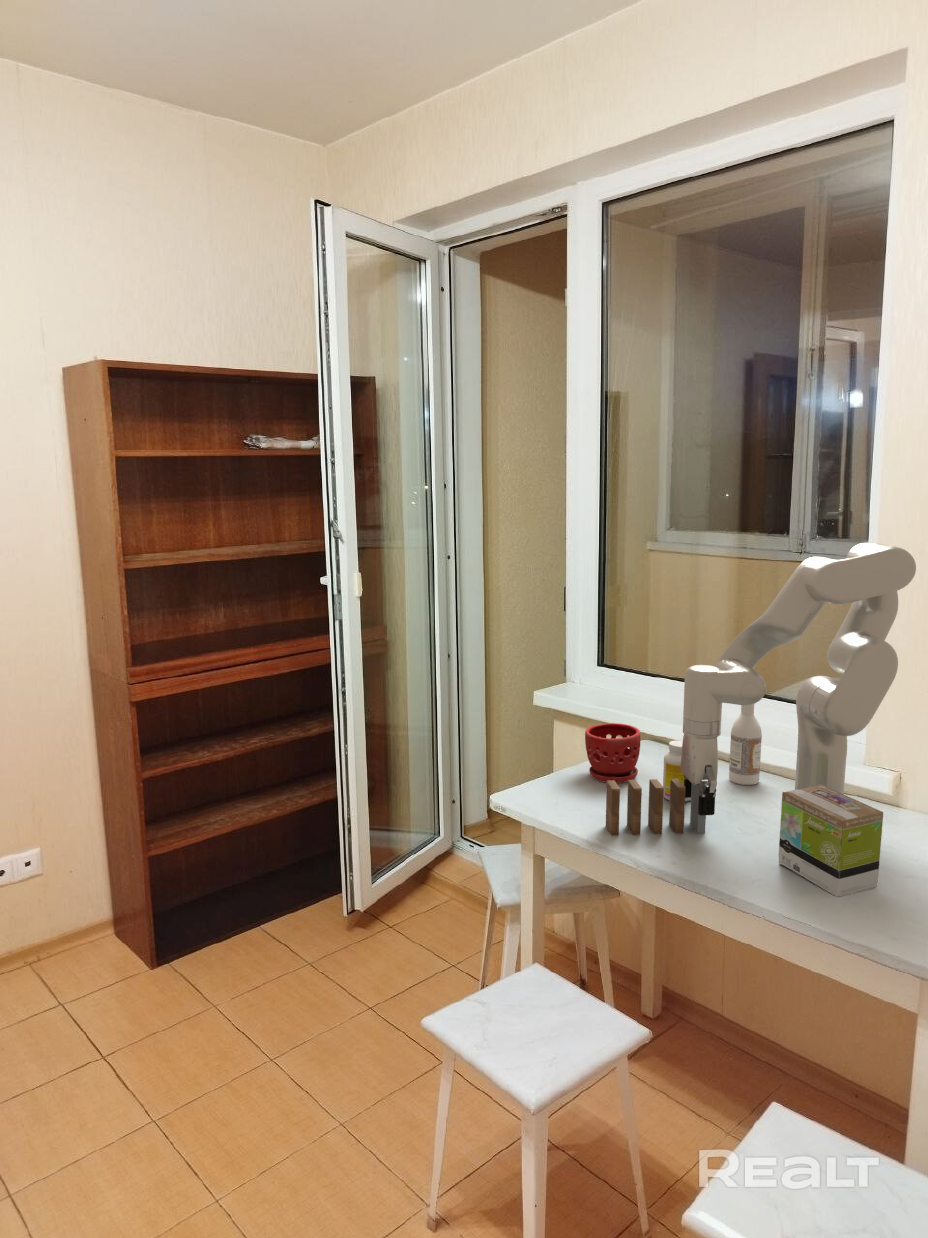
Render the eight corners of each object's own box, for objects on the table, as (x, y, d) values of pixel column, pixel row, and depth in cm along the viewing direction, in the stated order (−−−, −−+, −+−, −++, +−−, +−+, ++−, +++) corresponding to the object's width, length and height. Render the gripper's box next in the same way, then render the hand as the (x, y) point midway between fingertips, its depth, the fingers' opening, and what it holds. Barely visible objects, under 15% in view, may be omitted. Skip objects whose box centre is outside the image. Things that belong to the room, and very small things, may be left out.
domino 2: (634, 825, 188) (635, 779, 187) (640, 835, 183) (641, 788, 182) (626, 825, 188) (628, 780, 186) (632, 835, 183) (634, 788, 182)
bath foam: (750, 788, 209) (754, 705, 206) (723, 780, 214) (727, 699, 211) (764, 780, 214) (768, 699, 211) (738, 773, 219) (741, 694, 216)
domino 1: (613, 825, 188) (614, 780, 186) (618, 835, 183) (619, 789, 181) (605, 826, 188) (606, 780, 186) (611, 835, 183) (612, 789, 181)
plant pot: (606, 765, 226) (607, 719, 224) (650, 777, 217) (651, 729, 215) (573, 777, 217) (574, 729, 215) (617, 791, 208) (619, 741, 206)
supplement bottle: (695, 803, 200) (697, 748, 198) (665, 803, 200) (667, 748, 198) (688, 792, 207) (690, 739, 205) (660, 792, 207) (661, 739, 205)
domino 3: (655, 824, 188) (657, 779, 187) (662, 834, 184) (663, 787, 182) (648, 824, 188) (649, 779, 187) (654, 834, 183) (655, 788, 182)
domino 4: (676, 824, 189) (678, 778, 187) (683, 833, 184) (685, 787, 182) (669, 824, 189) (670, 778, 187) (676, 833, 184) (677, 787, 182)
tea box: (775, 864, 170) (780, 790, 167) (816, 855, 174) (821, 782, 171) (837, 899, 156) (842, 818, 153) (879, 888, 160) (885, 809, 157)
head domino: (697, 823, 189) (699, 778, 187) (705, 833, 184) (707, 786, 182) (690, 823, 189) (691, 778, 187) (697, 833, 184) (699, 787, 182)
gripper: (671, 714, 191) (668, 791, 194) (697, 739, 174) (693, 822, 177) (706, 714, 191) (702, 790, 194) (735, 738, 174) (731, 821, 177)
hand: (698, 805), depth 186 cm, fingers open, 9 cm apart
